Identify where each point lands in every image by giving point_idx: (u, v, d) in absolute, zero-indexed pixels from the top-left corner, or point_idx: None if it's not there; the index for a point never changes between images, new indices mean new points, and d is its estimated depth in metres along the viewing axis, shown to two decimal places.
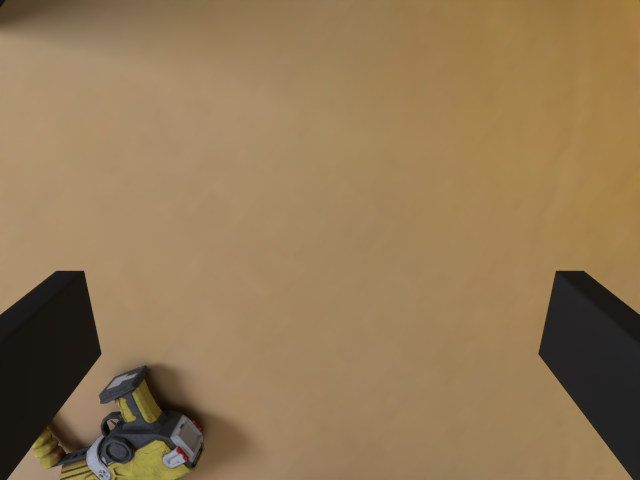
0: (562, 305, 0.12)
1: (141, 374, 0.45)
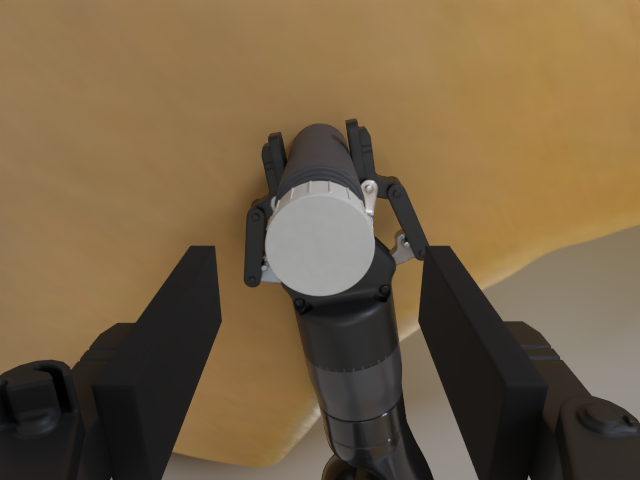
0: (427, 275, 0.14)
1: None
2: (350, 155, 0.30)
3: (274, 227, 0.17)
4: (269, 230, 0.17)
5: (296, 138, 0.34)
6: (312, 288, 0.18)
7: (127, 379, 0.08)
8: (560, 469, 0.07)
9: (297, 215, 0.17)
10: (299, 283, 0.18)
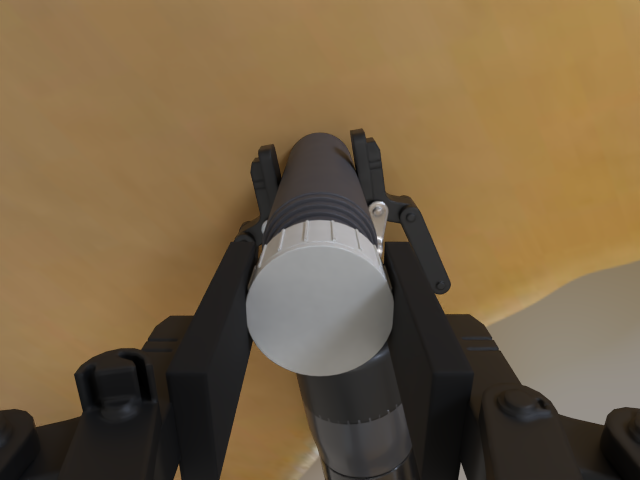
0: (386, 270, 0.14)
1: None
2: (355, 172, 0.26)
3: (257, 288, 0.12)
4: (250, 292, 0.12)
5: (292, 150, 0.29)
6: (309, 366, 0.13)
7: (199, 367, 0.08)
8: (484, 456, 0.08)
9: (288, 273, 0.12)
10: (292, 360, 0.13)
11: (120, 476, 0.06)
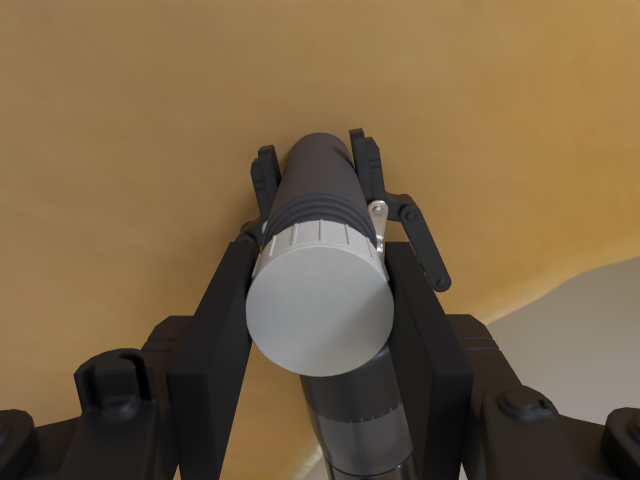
0: None
1: None
2: (355, 171, 0.26)
3: (342, 367, 0.13)
4: (350, 369, 0.13)
5: (292, 150, 0.30)
6: (372, 281, 0.12)
7: (198, 367, 0.08)
8: None
9: (309, 360, 0.13)
10: (379, 298, 0.12)
11: (120, 476, 0.06)
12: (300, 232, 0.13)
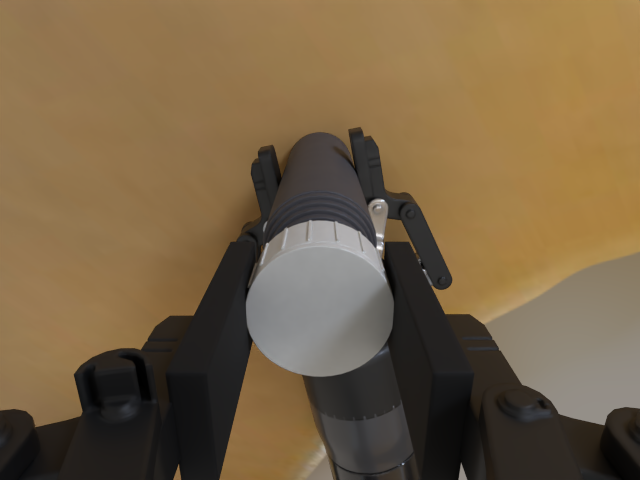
0: (386, 270, 0.14)
1: None
2: None
3: (347, 258, 0.12)
4: (343, 251, 0.12)
5: (292, 150, 0.30)
6: (256, 308, 0.13)
7: (198, 367, 0.08)
8: None
9: (366, 286, 0.12)
10: (263, 292, 0.12)
11: (120, 476, 0.06)
12: None
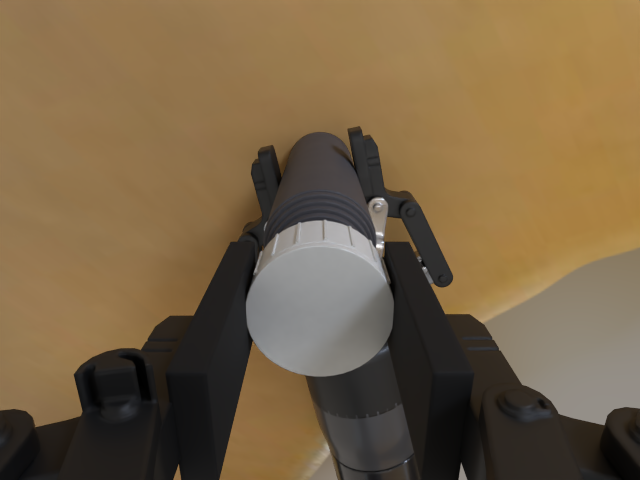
0: None
1: None
2: (354, 169, 0.26)
3: (259, 337, 0.13)
4: (258, 344, 0.13)
5: (292, 150, 0.30)
6: (358, 356, 0.13)
7: (198, 367, 0.08)
8: None
9: (265, 308, 0.13)
10: (340, 363, 0.13)
11: (120, 476, 0.06)
12: None
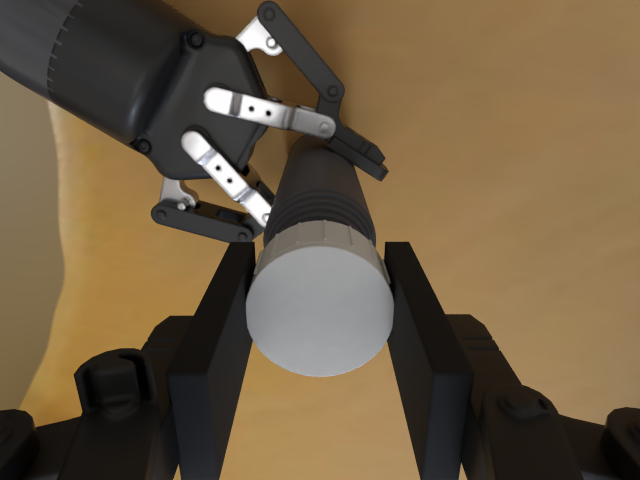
0: None
1: None
2: None
3: (259, 337, 0.13)
4: (258, 344, 0.13)
5: None
6: (358, 356, 0.13)
7: (198, 367, 0.08)
8: None
9: (265, 308, 0.13)
10: (340, 363, 0.13)
11: (120, 476, 0.06)
12: None
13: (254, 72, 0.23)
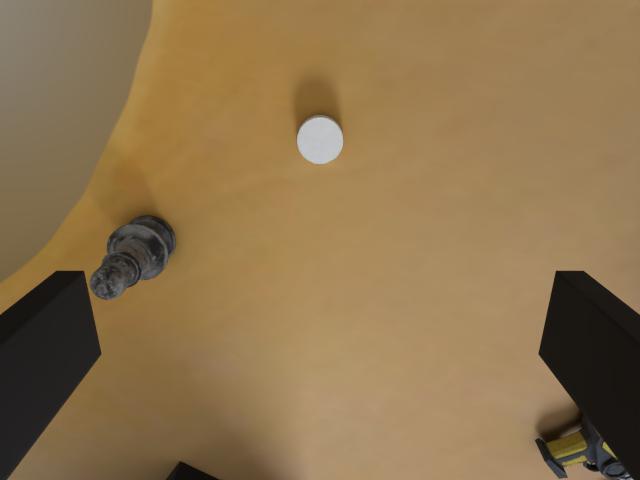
0: (562, 305, 0.12)
1: (540, 447, 0.55)
2: None
3: (301, 149, 0.42)
4: (300, 151, 0.42)
5: None
6: (332, 155, 0.42)
7: None
8: None
9: (303, 138, 0.41)
10: (326, 158, 0.42)
11: None
12: None
13: None
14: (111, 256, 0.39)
